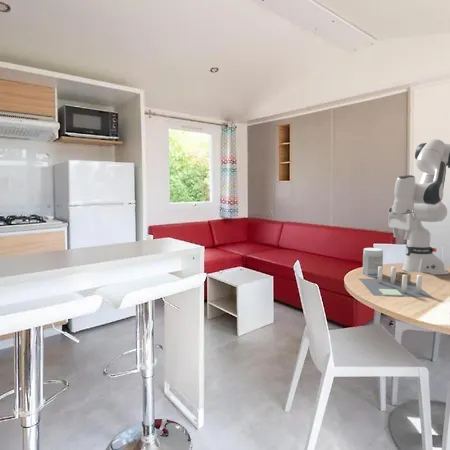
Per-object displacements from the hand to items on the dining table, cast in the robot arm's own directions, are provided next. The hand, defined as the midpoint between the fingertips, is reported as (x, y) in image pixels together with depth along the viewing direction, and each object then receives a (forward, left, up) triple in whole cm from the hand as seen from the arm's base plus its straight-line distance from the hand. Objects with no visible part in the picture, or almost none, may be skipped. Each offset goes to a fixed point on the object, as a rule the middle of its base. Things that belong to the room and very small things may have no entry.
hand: (401, 238), depth 161 cm
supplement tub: (+8, -14, -23) cm, 28 cm away
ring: (-3, -2, -22) cm, 22 cm away
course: (+5, +8, -23) cm, 25 cm away
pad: (+9, +17, -22) cm, 29 cm away
